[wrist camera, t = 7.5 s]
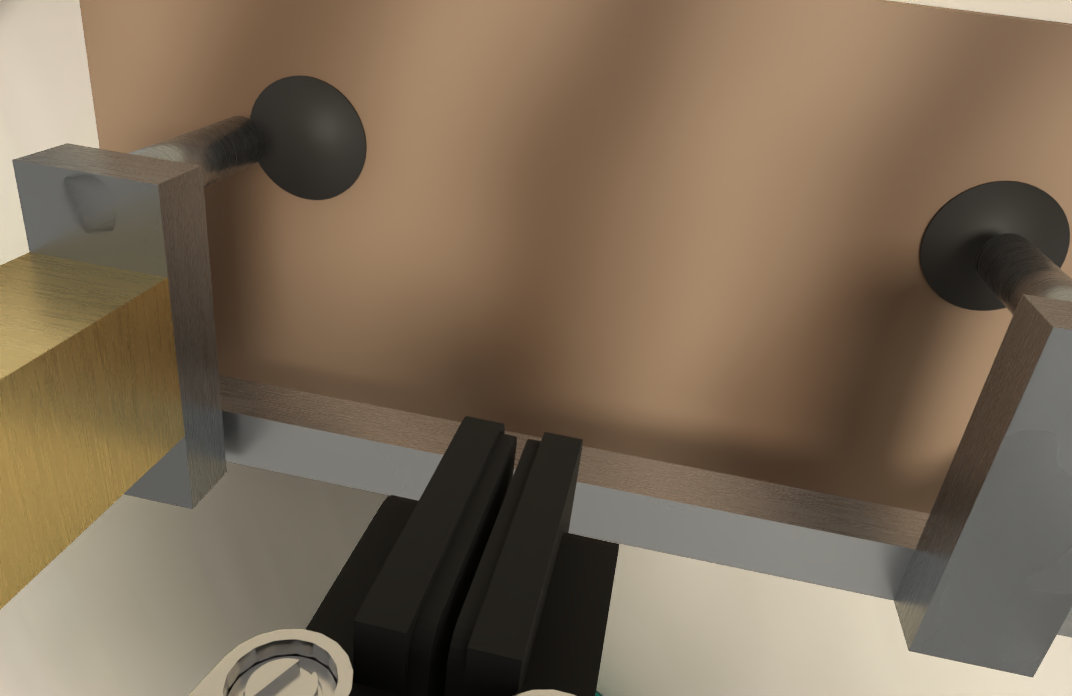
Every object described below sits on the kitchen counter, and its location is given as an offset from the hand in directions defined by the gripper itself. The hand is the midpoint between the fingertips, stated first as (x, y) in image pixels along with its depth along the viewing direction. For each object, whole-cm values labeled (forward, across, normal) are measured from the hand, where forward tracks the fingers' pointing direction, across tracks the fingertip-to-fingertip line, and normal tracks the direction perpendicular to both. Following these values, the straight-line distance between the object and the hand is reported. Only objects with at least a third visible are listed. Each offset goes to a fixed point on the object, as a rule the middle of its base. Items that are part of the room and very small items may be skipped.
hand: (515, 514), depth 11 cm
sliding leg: (+6, +7, 0) cm, 10 cm away
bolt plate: (+9, 0, -1) cm, 9 cm away
